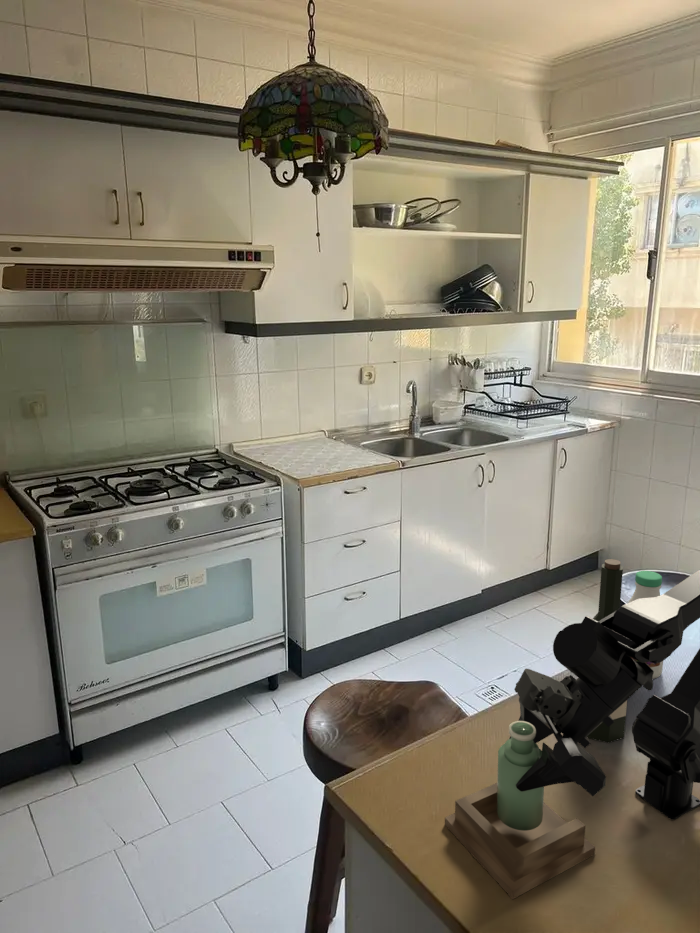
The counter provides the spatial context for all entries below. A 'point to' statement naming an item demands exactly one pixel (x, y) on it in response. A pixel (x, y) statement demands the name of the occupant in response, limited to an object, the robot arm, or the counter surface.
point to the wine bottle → (607, 606)
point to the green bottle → (512, 765)
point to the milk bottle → (648, 588)
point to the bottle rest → (517, 842)
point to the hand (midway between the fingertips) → (510, 771)
